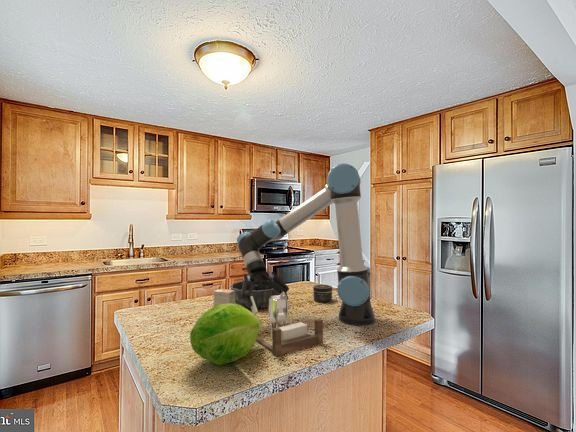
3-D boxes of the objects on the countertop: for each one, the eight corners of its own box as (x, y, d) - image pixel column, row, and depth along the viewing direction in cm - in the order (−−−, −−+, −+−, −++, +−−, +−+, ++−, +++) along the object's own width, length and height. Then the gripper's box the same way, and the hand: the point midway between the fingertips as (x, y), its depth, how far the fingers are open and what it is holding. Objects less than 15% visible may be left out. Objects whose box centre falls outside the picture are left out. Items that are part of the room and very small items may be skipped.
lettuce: (279, 357, 99) (279, 302, 99) (207, 386, 82) (207, 320, 82) (245, 340, 112) (245, 292, 112) (177, 362, 95) (177, 306, 95)
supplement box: (236, 321, 133) (236, 290, 133) (229, 324, 129) (229, 292, 129) (220, 318, 137) (220, 288, 137) (213, 321, 132) (213, 290, 132)
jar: (333, 303, 160) (333, 288, 160) (313, 303, 161) (313, 288, 161) (331, 298, 170) (331, 284, 170) (312, 298, 171) (312, 284, 171)
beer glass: (285, 343, 110) (285, 300, 110) (266, 341, 111) (266, 299, 111) (289, 335, 116) (289, 295, 117) (271, 334, 118) (271, 294, 118)
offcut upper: (277, 336, 104) (277, 327, 104) (300, 330, 110) (300, 322, 110) (283, 340, 101) (283, 331, 101) (307, 333, 107) (307, 324, 107)
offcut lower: (274, 346, 104) (274, 337, 104) (303, 338, 111) (303, 330, 111) (280, 350, 101) (280, 341, 101) (310, 342, 107) (310, 333, 107)
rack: (246, 337, 115) (246, 312, 115) (289, 328, 125) (289, 305, 125) (275, 359, 97) (275, 330, 97) (322, 346, 107) (322, 320, 107)
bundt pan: (241, 314, 142) (241, 292, 142) (223, 301, 165) (223, 282, 165) (291, 306, 155) (291, 286, 155) (268, 295, 178) (268, 277, 178)
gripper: (277, 267, 137) (296, 310, 125) (223, 273, 124) (238, 321, 111) (284, 257, 133) (304, 300, 120) (228, 261, 120) (244, 310, 107)
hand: (272, 311), depth 116 cm, fingers open, 13 cm apart
